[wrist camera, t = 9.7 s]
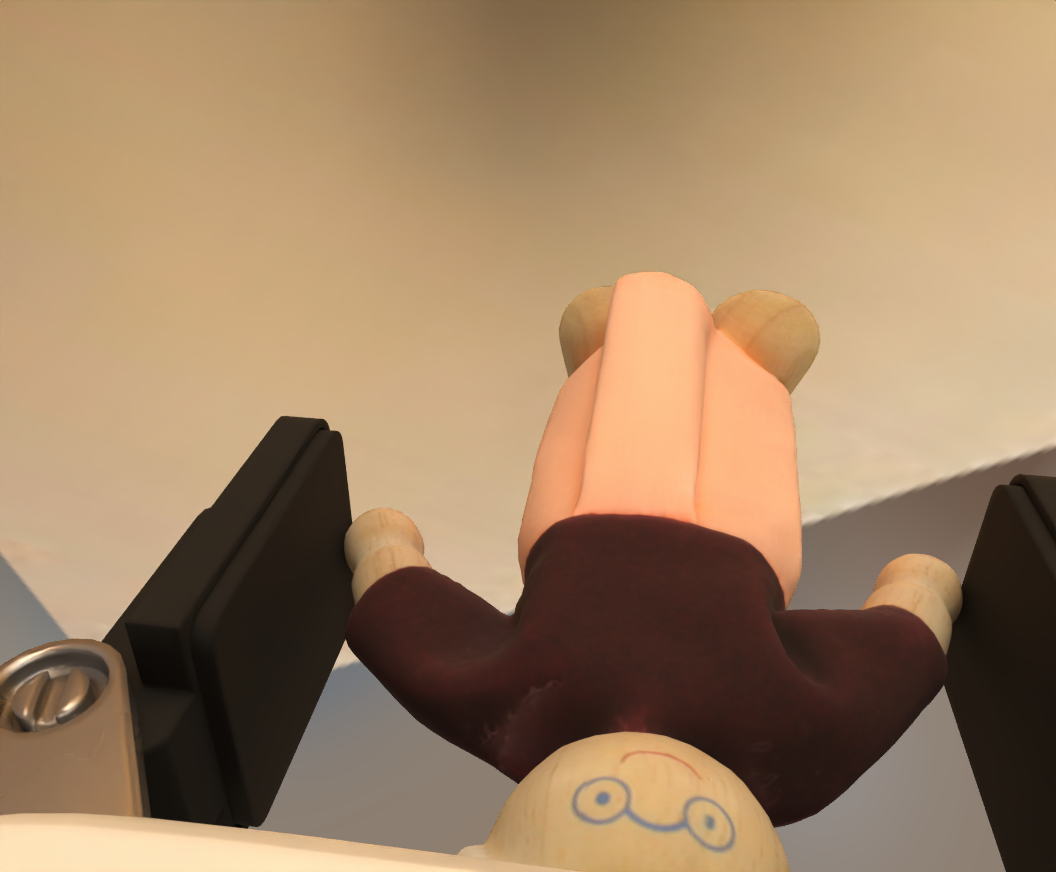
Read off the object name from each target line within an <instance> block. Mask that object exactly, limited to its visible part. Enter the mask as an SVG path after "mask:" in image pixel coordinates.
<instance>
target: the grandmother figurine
mask: <svg viewBox="0 0 1056 872" xmlns="http://www.w3.org/2000/svg"><path fill="white" fill-rule="evenodd" d="M559 337H560V343H561V348H562V353H563V357H564V361H565V365H566V369H567V373H568V377H569V378H568V379H567V381H566V382H565V383H564V384H563V386H562V388H561V389H560V391H559V394H558V396H557V399H556V402H555V404H554V407H553V409H552V412H551V415H550V417H549V420H548V422H547V425H546V428H545V431H544V434H543V437H542V440H541V443H540V446H539V449H538V452H537V456H536V460H535V463H534V467H533V475H532V482H531V486H530V490H529V494H528V498H527V502H526V506H525V510H524V514H523V518H522V525H521V528H520V533H519V537H518V559H519V564H520V569H521V574H522V580H523V584H524V588H523V592H522V595H521V597H520V599H519V601H518V603H517V604H516V608H515V613H514V614H513V615H511V616H507V615H505V614H503V613H501V612H500V611H499V610H497V609H496V608H495V607H493V606H492V605H491V604H489V603H488V602H486V601H485V600H484V599H482V598H481V597H479V596H478V595H476V594H474V593H473V592H471V591H469V590H467V589H466V588H465V587H464V586H462V585H461V584H460V583H457V582H454V581H453V580H451V579H450V578H449V577H447V576H445V575H442V574H440V573H438V572H437V571H435V570H433V569H432V567H431V566H430V564H429V562H428V561H427V559H426V558H425V557H424V556H423V555H424V543H423V539H422V537H421V535H420V532H419V530H418V528H417V527H416V526H415V524H414V523H413V521H412V520H411V519H410V518H409V517H408V516H406V515H404V514H403V513H401V512H399V511H396V510H393V509H390V508H377V509H373V510H370V511H367V512H366V513H364V514H362V515H361V516H359V517H358V518H357V519H356V520H355V521H354V522H353V523H352V525H351V526H350V528H349V529H348V531H347V532H346V534H345V539H344V553H345V558H346V561H347V563H348V566H349V567H350V569H351V571H352V572H353V574H354V575H353V579H352V583H351V585H352V592H353V598H354V604H355V606H354V607H353V609H352V611H351V614H350V616H349V619H348V622H347V627H346V635H345V638H346V641H347V644H348V647H349V648H350V649H351V651H352V652H353V653H354V654H355V656H356V657H357V658H358V659H359V660H360V661H361V662H362V663H363V664H364V665H365V666H366V667H367V668H368V670H369V671H370V672H371V673H372V674H373V675H374V676H375V677H376V678H377V679H378V680H379V681H380V682H381V683H382V685H383V686H384V687H385V688H386V689H387V690H388V691H389V692H390V693H391V694H392V696H393V697H394V698H395V699H396V700H397V701H398V702H399V703H400V704H401V705H402V706H403V707H404V708H405V709H406V710H407V711H408V712H409V713H410V714H411V715H412V716H413V717H414V718H415V719H416V720H418V721H419V722H420V723H421V724H423V725H425V726H426V727H427V728H428V729H430V730H431V731H433V732H434V733H436V734H438V735H439V736H441V737H442V738H444V739H445V740H447V741H449V742H450V743H452V744H454V745H456V746H458V747H459V748H461V749H463V750H465V751H467V752H469V753H471V754H472V755H474V756H476V757H478V758H479V759H481V760H483V761H485V762H487V763H488V764H490V765H492V766H493V767H495V768H496V769H498V770H499V771H500V772H501V773H503V774H504V775H506V776H507V777H509V778H510V779H512V780H513V781H515V782H516V783H518V784H519V785H518V786H517V787H516V789H515V790H514V792H513V793H512V794H511V795H510V797H509V798H508V800H507V801H506V802H505V804H504V806H503V808H502V810H501V812H500V814H499V816H498V818H497V820H496V822H495V824H494V826H493V828H492V830H491V832H490V834H489V836H488V838H487V840H486V842H485V843H484V844H483V845H472V846H469V847H465V848H462V850H461V851H460V852H459V853H458V854H457V855H459V856H466V857H474V858H482V859H489V860H497V861H505V862H512V863H520V864H527V865H535V866H542V867H550V868H557V869H565V870H572V871H580V872H790V868H789V865H788V862H787V858H786V855H785V852H784V848H783V845H782V843H781V841H780V839H779V837H778V835H777V833H776V831H775V829H774V828H775V827H780V826H785V825H789V824H792V823H795V822H798V821H801V820H803V819H805V818H807V817H810V816H812V815H815V814H817V813H818V812H820V811H821V810H822V809H824V808H825V807H826V806H828V805H829V804H830V803H832V802H833V801H834V800H836V799H837V798H838V797H839V796H840V795H841V794H842V793H844V792H845V791H846V790H847V789H848V788H849V787H850V786H851V785H852V784H853V783H854V782H855V781H856V780H857V779H858V778H859V777H860V776H861V775H862V774H863V773H865V772H866V771H867V770H868V769H869V768H870V767H871V766H872V765H873V764H874V763H875V762H877V761H878V760H879V759H880V758H881V757H882V756H883V755H884V754H885V753H886V752H887V751H888V750H889V749H890V748H891V746H893V745H894V744H895V742H896V741H897V740H898V739H899V738H900V737H901V736H902V735H903V733H904V732H905V731H906V730H907V729H908V728H909V726H910V725H911V724H912V723H913V722H914V720H915V719H916V718H917V717H918V716H919V714H920V713H921V712H922V710H923V709H924V708H925V707H926V706H927V705H928V704H929V703H930V702H931V701H932V700H933V699H934V697H935V696H936V695H937V694H938V692H939V691H940V690H941V688H942V687H943V685H944V683H945V680H946V678H947V675H948V664H947V657H946V654H947V650H948V647H949V644H950V640H951V635H952V624H953V623H954V621H955V620H956V619H957V617H958V616H959V614H960V612H961V608H962V605H963V592H962V587H961V584H960V581H959V579H958V577H957V575H956V574H955V572H954V571H953V570H952V568H950V567H949V566H948V565H947V564H946V563H944V562H942V561H940V560H938V559H936V558H934V557H932V556H929V555H924V554H907V555H904V556H901V557H899V558H896V559H895V560H893V561H892V562H890V563H889V564H887V565H886V566H885V568H884V569H883V570H882V571H881V573H880V575H879V577H878V578H877V581H876V584H875V587H874V593H873V594H872V595H871V596H870V597H869V598H868V599H867V601H866V602H865V604H864V605H863V607H862V609H861V610H826V609H818V610H787V607H788V605H789V603H790V601H791V599H792V596H793V595H794V592H795V589H796V586H797V583H798V581H799V577H800V574H801V566H802V564H801V563H802V526H801V505H800V496H799V484H798V472H797V448H796V436H795V426H794V420H793V413H792V405H791V398H790V394H791V393H792V391H793V390H794V389H795V387H796V386H797V385H798V383H799V382H800V380H801V379H802V378H803V376H804V375H805V373H806V372H807V371H808V369H809V368H810V366H811V365H812V363H813V361H814V359H815V357H816V355H817V353H818V349H819V344H820V332H819V326H818V324H817V322H816V320H815V318H814V316H813V314H812V313H811V311H810V310H809V309H808V308H807V307H806V306H804V305H803V304H802V303H801V302H800V301H798V300H796V299H793V298H791V297H788V296H785V295H783V294H780V293H776V292H771V291H766V290H752V291H747V292H744V293H741V294H738V295H735V296H733V297H731V298H729V299H727V300H726V301H724V302H723V303H722V304H720V305H719V306H718V307H717V309H716V310H715V311H714V312H713V314H712V315H711V313H710V310H709V308H708V306H707V305H706V303H705V301H704V299H703V297H702V296H701V294H700V293H699V292H698V291H697V290H696V289H695V288H694V287H693V286H692V285H691V284H689V283H687V282H685V281H683V280H681V279H679V278H676V277H674V276H671V275H669V274H666V273H662V272H639V273H634V274H628V275H625V276H623V277H621V278H620V279H619V280H618V281H617V282H616V283H615V286H614V287H611V286H608V287H598V288H594V289H591V290H588V291H586V292H584V293H582V294H581V295H579V296H578V297H576V298H575V299H574V300H573V301H572V302H571V303H570V304H569V305H568V307H567V308H566V310H565V311H564V314H563V316H562V320H561V323H560V327H559ZM786 610H787V611H786Z"/></svg>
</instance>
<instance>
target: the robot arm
mask: <svg viewBox="0 0 1056 872" xmlns="http://www.w3.org/2000/svg"><path fill="white" fill-rule="evenodd" d="M351 525H352V517H351V508H350V499H349V491H348V482H347V473H346V464H345V456H344V447H343V440H342V436H341V434H340V432H338V431H330V429H329V426H328V423H327V422H326V421H325V420H324V419H316V418H303V417H290V416H281V417H280V418H279V419H278V420H277V421H276V422H275V423H274V425H273V426H272V427H271V429H270V430H269V431H268V433H267V434H266V435H265V437H264V438H263V439H262V441H261V442H260V443H259V445H258V446H257V447H256V449H255V450H254V451H253V453H252V454H251V455H250V456H249V458H248V459H247V460H246V462H245V463H244V464H243V466H242V467H241V468H240V470H239V471H238V472H237V474H236V475H235V476H234V478H233V479H232V480H231V482H230V483H229V484H228V486H227V487H226V488H225V490H224V491H223V492H222V494H221V495H220V496H219V498H218V499H217V500H216V502H215V503H214V504H213V505H212V507H211V508H208V509H205V510H204V511H203V512H202V513H201V514H199V515H198V516H197V518H196V519H195V520H194V522H193V523H192V524H191V526H190V527H189V528H188V529H187V531H186V532H185V533H184V535H183V536H182V537H181V539H180V540H179V541H178V542H177V544H176V545H175V546H174V548H173V549H172V550H171V552H170V553H169V554H168V556H167V557H166V558H165V559H164V561H163V562H162V563H161V565H160V566H159V567H158V569H157V570H156V571H155V573H154V574H153V575H152V576H151V578H150V579H149V580H148V582H147V583H146V584H145V586H144V587H143V588H142V589H141V591H140V592H139V593H138V595H137V596H136V597H135V599H134V600H133V601H132V603H131V604H130V605H129V606H128V608H127V609H126V610H125V612H124V613H123V614H122V616H121V617H120V618H119V619H118V621H117V622H116V623H115V625H114V626H113V627H112V629H111V630H110V631H109V633H108V634H107V635H106V636H105V638H104V639H103V640H102V642H99V641H96V640H93V639H66V640H61V641H55V642H49V643H46V644H43V645H41V646H38V647H35V648H33V649H30V650H27V651H25V652H23V653H21V654H19V655H18V656H16V657H14V658H12V659H11V660H9V661H7V662H5V663H4V664H3V665H1V666H0V872H580V871H572V870H565V869H557V868H550V867H542V866H535V865H527V864H520V863H512V862H505V861H497V860H489V859H482V858H474V857H466V856H459V855H451V854H443V853H435V852H427V851H419V850H412V849H404V848H396V847H389V846H381V845H373V844H366V843H358V842H350V841H342V840H335V839H326V838H319V837H311V836H304V835H296V834H288V833H280V832H271V831H261V830H252V829H248V827H249V826H253V827H258V826H260V825H261V824H262V823H263V822H264V821H265V819H266V817H267V815H268V813H269V810H270V808H271V806H272V804H273V802H274V799H275V797H276V795H277V793H278V790H279V788H280V786H281V783H282V781H283V779H284V777H285V774H286V772H287V770H288V767H289V765H290V763H291V761H292V759H293V756H294V754H295V752H296V750H297V747H298V745H299V743H300V741H301V738H302V736H303V734H304V732H305V729H306V727H307V725H308V722H309V720H310V718H311V716H312V713H313V711H314V709H315V707H316V704H317V702H318V700H319V698H320V696H321V693H322V691H323V689H324V686H325V684H326V682H327V680H328V677H329V675H330V673H331V671H332V668H333V666H334V664H335V662H336V659H337V657H338V655H339V653H340V650H341V648H342V646H343V644H344V641H345V639H346V638H345V635H346V627H347V622H348V619H349V616H350V614H351V611H352V609H353V607H354V606H355V604H354V598H353V592H352V585H351V583H352V579H353V575H354V574H353V572H352V571H351V569H350V567H349V566H348V563H347V561H346V558H345V553H344V539H345V534H346V532H347V531H348V529H349V528H350V526H351ZM962 592H963V605H962V608H961V612H960V614H959V616H958V617H957V619H956V620H955V621H954V623H953V624H952V635H951V640H950V644H949V647H948V650H947V654H946V657H947V664H948V675H947V678H946V680H945V683H944V686H945V689H946V692H947V695H948V698H949V701H950V704H951V707H952V710H953V713H954V716H955V719H956V722H957V725H958V729H959V731H960V735H961V738H962V741H963V744H964V747H965V749H966V753H967V755H968V759H969V761H970V765H971V768H972V770H973V774H974V777H975V780H976V783H977V786H978V788H979V792H980V795H981V798H982V801H983V803H984V806H985V810H986V813H987V816H988V819H989V822H990V825H991V828H992V831H993V834H994V837H995V840H996V843H997V846H998V849H999V852H1000V855H1001V858H1002V861H1003V864H1004V867H1005V870H1006V872H1056V477H1047V476H1034V475H1022V474H1019V475H1017V476H1015V477H1014V478H1013V479H1012V481H1011V482H1010V484H1009V485H999V486H997V487H996V488H995V489H994V491H993V494H992V496H991V498H990V502H989V505H988V508H987V511H986V514H985V517H984V520H983V523H982V526H981V529H980V532H979V535H978V538H977V541H976V544H975V547H974V550H973V554H972V557H971V559H970V562H969V565H968V569H967V572H966V575H965V578H964V581H963V584H962Z"/></svg>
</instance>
